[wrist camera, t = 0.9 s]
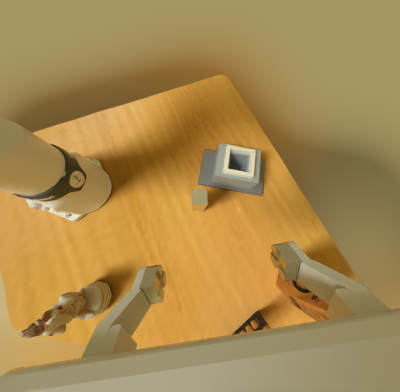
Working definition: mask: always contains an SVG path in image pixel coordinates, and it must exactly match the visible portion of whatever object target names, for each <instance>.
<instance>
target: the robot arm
mask: <svg viewBox="0 0 400 392" xmlns="http://www.w3.org/2000/svg"><path fill="white" fill-rule="evenodd" d="M111 188H112V184H111V179H110V177H109V175H108V174H107V173H106V172H105V171H104V170H103V168H102V165H101V163H100V161H99V160H97V159H87V158H86V157H84V156H82V155H81V154H79V153H76V152H75V153H68V152H67V151H65V150H64V149H62V148H59V147H58V146H56V145H53V144H49V143H47V142H46V141H44V140H43V139H41V138H39V137H38V136H36V135H34V134H33V133H31V132H29V131H27V130H26V129H24V128H23V127H21V126H19V125H18V124H16V123H14V122H11V121H9V120H6V119H3V118H0V191H4V192H9V193H13V194H14V195H16V196H19V197H22V198H25V199H26V201H27V203H29V205H28V206H29V207H32V208H36V209H43V210H46V211H48V212H51V213H53V214H56V215H58V216H61V217H63V218H66V219H68V220H71V221H78V220H79V219H81V218H82V217H83V216H84V215H85V214H87V213H90V212H92V211H94V210H96V209H98V208H99V207H101V206H102V205H103V204H104V203H105V202H106V201H107V199H108V197H109V195H110V193H111ZM71 214H72V215H71ZM70 215H71V216H70ZM271 250H272V252H271V260H272V262H273V264H274V266H275V267H276V268H278V269H279V272H278V273H279V275H280V276H281V278H282V279H283V281H284V282H288V281H295V280H297V281H298V282H299V283H300V284H302V285H303V286H304V287H306V288H307V289H308V290H310V291H311V292H312V293H314V294H315V295H316V296H318V297H319V298H320V299H322V300H323V301H324V302H326V303H327V304H328V305H329V307H328V310H327V313H326V315H327V317H328V318H329V320H323V321H316V322H310V323H304V324H297V325H291V326H284V327H278V328H271V329H265V330H259V331H252V332H246V333H239V334H233V335H227V336H220V337H214V338H207V339H201V340H194V341H188V342H182V343H175V344H169V345H163V346H156V347H150V348H143V349H137V350H136V347H137V343H136V342H135V340H134V339H133V338H132V337H131V336H132V335H133V333H134V332H135V330H136V328H137V327H138V325H139V324H140V322H141V320H142V319H143V317H144V316H145V314H146V312H147V311H148V309H149V308H150V306H151V304H156V303H161V302H163V298H164V290H163V288H164V287H165V285H166V274H165V271H163V270H162V269H163V267H162V265H154V266H148V267H142V268H140V269H139V271H138V273H137V276H136V279H135V282H134V284H133V287H132V290H131V291H129V292H128V293H127V294H126V295H125V296H124V297H123V298H122V299H121V300H120V302H119V303H118V304H117V305H116V306H115V307H114V308H113V309H112V310H111V311H110V312H109V314H108V315H107V316H106V317H105V318H104V319H103V320H102V321H101V322H100V323H99V325H98V326H97V327H96V328H95V330H94V333H93V335H92V337H91V339H90V341H89V343H88V345H87V347H86V349H85V351H84V353H83V356H82V358H79V359H73V360H67V361H60V362H54V363H48V364H42V365H35V366H29V367H21V368H16V369H12V370H10V371H8V372H6V373H5V374H3V375H2V376H1V377H0V392H400V309H394V310H390V309H389V308H388V307H387V306H386V305H385V304H384V303H382V302H381V301H380V300H379V299H378V298H377V297H376V296H375V295H374V294H373V293H372V292H370V291H369V290H368V289H367V288H366V287H365V286H364V285H363V284H361V283H359V282H357V281H355V280H353V279H351V278H349V277H347V276H345V275H343V274H341V273H339V272H337V271H335V270H333V269H331V268H329V267H327V266H325V265H323V264H321V263H319V262H317V261H315V260H311V259H310V258H309V257H308V256H307V255H306V254H305V252H304V251H303V250H302V249H301V248H300V247H299V246H298V245H297V244H296V243H295V242H294V241H291V242H286V243H280V244H274V245H272V246H271Z"/></svg>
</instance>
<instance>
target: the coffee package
mask: <svg viewBox="0 0 400 392" xmlns="http://www.w3.org/2000/svg"><path fill="white" fill-rule="evenodd" d="M277 286H278V287H279V289H280V290H281V291H282V292H283V293H284V294H285V295H286V296H287V297H288V298H289V300H290V301H291V303H292V304H293V305H295V306H296V307H297V308H299V309H300V310H302V311H303V312H304V313H306V314H307V315H309V316H310V317H312V318H313V319H315V320H316V321H323V320H329V318H328V317H327V315H326V313H327V310H328V307H329V305H328V304H327V303H326V302H324V301H323V300H322V299H320V298H319V297H318V296H316V295H315V294H314V293H312V292H311V291H310V290H308V289H307V288H306V287H304V286H303V285H302V284H300V283H299V282H298V281H297V280H295V281H288V282H284V281H283V279H282V278H281V276H280V275H279V276H278V280H277Z"/></svg>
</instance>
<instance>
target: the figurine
mask: <svg viewBox="0 0 400 392" xmlns="http://www.w3.org/2000/svg"><path fill="white" fill-rule="evenodd" d="M111 298H112V297H111V291H110V288H109V286H108V284H107V283H105V282H102V281H97V282H94V283H91V284H88V285H86V286H84V287H83V288H82V289H80V290H79V291H78V292H68V293H65V294H63V295H61V296H60V297H59V303H57V304H56V305H54V306H53V307H52V308H51V309H50V310H48V311H46V312H45V313H44V314H43V316H42V319H39V320H37V321H36V322H35V323H33V324H31V325H30V326H29V327H28V328H27V329H26V330H23V331H22V332H21V336H22V337H28V338H29V337H34V336H39V335H42V334H43V335H45V336H51V335H57V334H62V333H64V332H65V331H66V324H68V323H69V322H70V321H71V320H72V319H73V318H78V319H79V320H83V319H84V320H87V319H90V318H92V317H95V316H97V315H99V314H101V313H103V311H104V310H105V309H106V308H107V307H108V305H109V302H110V299H111Z"/></svg>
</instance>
